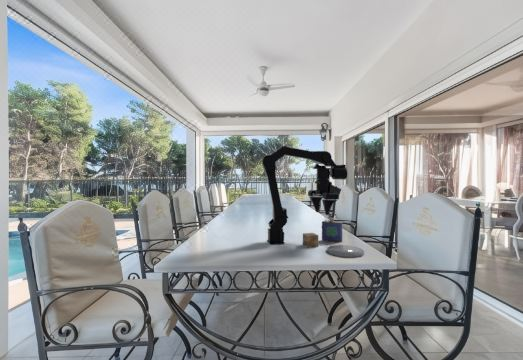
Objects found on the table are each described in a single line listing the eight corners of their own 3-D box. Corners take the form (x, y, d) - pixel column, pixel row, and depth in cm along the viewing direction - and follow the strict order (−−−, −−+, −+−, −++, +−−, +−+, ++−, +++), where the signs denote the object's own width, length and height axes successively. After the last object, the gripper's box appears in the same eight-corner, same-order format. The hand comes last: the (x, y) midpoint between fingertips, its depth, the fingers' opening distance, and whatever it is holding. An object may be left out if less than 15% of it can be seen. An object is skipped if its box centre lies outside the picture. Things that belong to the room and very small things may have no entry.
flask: (342, 240, 131) (342, 217, 130) (342, 242, 128) (342, 218, 127) (322, 239, 133) (321, 216, 133) (321, 241, 130) (321, 217, 130)
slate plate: (338, 258, 104) (338, 255, 103) (321, 248, 117) (321, 246, 117) (371, 255, 107) (371, 252, 107) (351, 246, 121) (351, 243, 121)
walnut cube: (307, 247, 119) (307, 235, 119) (302, 244, 124) (302, 233, 124) (318, 246, 121) (318, 235, 120) (313, 244, 125) (313, 232, 125)
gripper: (350, 180, 122) (349, 216, 122) (328, 178, 140) (327, 210, 140) (327, 179, 119) (326, 216, 119) (307, 178, 137) (307, 210, 137)
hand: (322, 213), depth 129 cm, fingers open, 9 cm apart
